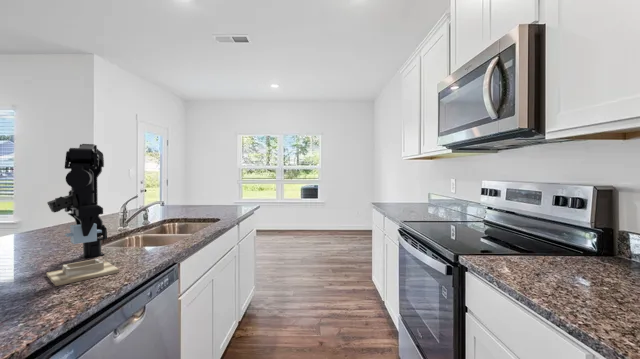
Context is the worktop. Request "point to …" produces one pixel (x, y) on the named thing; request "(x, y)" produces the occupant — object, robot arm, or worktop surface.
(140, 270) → the worktop surface
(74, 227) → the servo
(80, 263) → the chassis pocket
